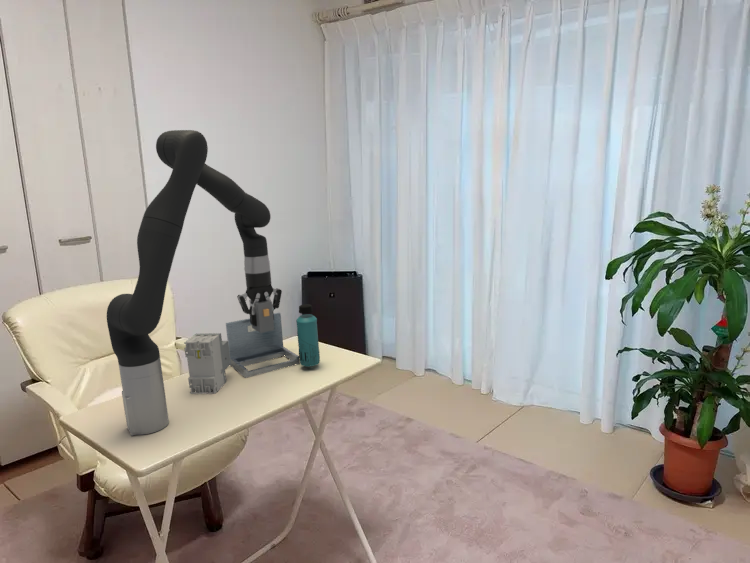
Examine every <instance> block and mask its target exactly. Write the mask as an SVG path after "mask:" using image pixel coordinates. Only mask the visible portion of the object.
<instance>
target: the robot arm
mask: <svg viewBox="0 0 750 563" xmlns="http://www.w3.org/2000/svg"><path fill="white" fill-rule="evenodd" d="M155 150H156V154H157V156H158V158H159V159H160V160H161V162H162V163H163V164H164V165H166V166H167V167H169V168H170V169H171V170H172V171H171V174H170V176H169V178H168V181H167V182H166V183H165V185H164V186H163V188H162V189H161V190H160V191H159V192H158V194H157V195H156V196H155V197H154V198H153V200H152V201H151V202H150V203H149V204H148V206H147V208H146V209H145V211H144V213H143V216H142V219H141V222H140V226H139V229H138V233H137V239H136V245H137V247H136V248H137V255H138V262H139V273H138V276H137V277H138V278H137V281H136V284H135V288H134V291H133V293H121V294H118V295H116V296H115V297H114V298H112V299H111V300H110V302H109V304H108V306H107V309H106V322H107V323H106V324H107V328H108V334H109V339H110V343H111V347H112V348H111V349H112V350H113V353H114V355H115V356H116V358H117V361H118V370H119V376H120V382H121V383H120V384H121V389H122V391H121V397H122V403H123V410H124V416H125V421H126V422H125V423H126V427H127V430H128V431H129V434H130V436H131V437H132V436H136V435H148V434H153V433H156V432H159V431H161V430H163V429H164V428H166V427H167V426H168V425H169V423H170V420H169V419H170V418H169V413H168V406H167V404H168V403H167V399H166V390H165V382H164V377H163V376H164V375H163V370H162V363H161V361H162V360H161V354H160V349H159V346H158V344H157V343H155V342H154V340H152V338H151V337H150V335H149V334H151V333H152V332H153V331H155V329H156V328H157V327H158V325H159V323H160V321H161V316H162V312H163V308H164V302H165V296H166V290H167V285H168V282H169V275H170V272H171V270H172V265H173V262H174V258H175V255H176V254H175V253H176V250H177V247H178V245H179V241H180V239H181V235H182V231H183V228H184V227H183V226H184V224H185V219H186V217H187V213H188V210H189V207H190V204H191V201H192V200H191V199H192V197H193V194H194V192H195V188H196V186H198V187H200V188H201V189H203V190H204V191H205V192H206V193H208V194H209V195H210V196H212V197H213V198H214V199H215V200H216V201H218V202H219V204H221V206H223V207H224V208H225V209H226V210H228V211H229V212H231V213H234V222H235V225H236V229H237V231H238V233H239V236H240V239H241V241H242V245H243V255H244V256H243V257H244V258H243V259H244V261H243V263H244V267H243V270H244V274H245V275H244V276H245V284H246V289H245V292H244V293H242V294H238V295H237V300H238V303H239V305H240V307H241V309H242V312H243V313H244V314H246V315H249V318H250V323H251V324H252V325H253V326H257V321H256V315H255V313H256V309H255V308H256V303H258V302H261V301H269V300H270V301H272V309H273V320H274V310H276V309H279V307H280V303H281V298H282V292H283V291H282V289H280V288H275V287H274V288H273V285H272V275H271V273H272V272H271V263H270V258H269V251H268V241H267V238H266V236H265V235H261V234H259V233H258V232H257V231H256V229H255V228H258V229H259V228H265V227H266V226H268V224H270V221H271V219H272V217H271V211H270V209H269V207H267V205H266V204H265V203H263V202H262V201H261V200H259V198H256V197H254V196H252V195H251V194H248V193H247V192H246V191H245V190H244V189H243V188H242V187H240V185H238V184H237V182H235V181H234V179H231V177H229V176H228V175H225V174H224V173H222V172H220V171H219V170H217V169H215V168H213V167H211V166H210V165H208V164H206V161H207V158H208V152H209V151H208V150H209V147H208V142H207V140H206V137H205V135H204V134H202V132H200V131H198V130H193V129H192V130H191V129H181V130H177V129H175V130H167V131H164V132H162V133H161V134H159V136H158V137H157V139H156V142H155ZM272 295H273V299H271V296H272ZM248 298H249V300H250V302H249V307H248V304H247V302H246V301H247V299H248ZM252 302H254V304H253V303H252Z"/></svg>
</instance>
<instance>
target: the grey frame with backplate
mask: <svg viewBox="0 0 750 563" xmlns="http://www.w3.org/2000/svg"><path fill="white" fill-rule="evenodd" d="M273 313H274V312H273ZM281 314H282V313H281V312H275V313H274V330H272V331H267V332H263V333H260V332H258V331H257V330H255V329H253V328H252V324H251V323H250V317H248V318H245V319H239V320H234V321H230V322H225V329H226V338H227V340H226V341H228V346H229V355H230V365H229V367H230V366H231V367H232V368H233V369H234V370H235V371H236V372H238V374H240V375H241V376H242V377H243V378H245V379H246V378H250V377H254V376H258V375H262V374H266V373H270V372H273V370H274V371H278V370H281V369H284V367H285V368H287V367H288V366H289V367H293V366H296V365H295V364H297V365H301V364H300V361H299V360H300V358H299V354H296V353H294V352H293V351H291V350H290V349H288V348H287V347H285V346H284V341H283V340H284V337H283V327H282V315H281ZM284 355H285V356H286V357H287V358H286V357H285V356H284ZM280 356H284V357H285V358H286V359H288V358H289V359H290V360H289V359H288V360H287V361H283V362H279V363H274V364H270V365H266V366H262V367H258V368H254V369H250V370H248V368H247V367H246V366H251V364H252V365H255V363H256V364H259V362H260V363H263V361H264V362H267V361H266V360H268V361H271V360H270V359H272V360H274V359H273V358H276V359H278V358H277V357H280ZM280 358H281V357H280ZM292 365H293V366H292ZM280 368H281V369H280ZM277 369H278V370H277Z"/></svg>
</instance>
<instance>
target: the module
mask: <svg viewBox="0 0 750 563" xmlns="http://www.w3.org/2000/svg"><path fill="white" fill-rule="evenodd" d="M270 300H271V299H270ZM270 300H269V301H261V302H258V303H256V308H255V309H256V313H255V315H256V321H257V326H253V325H252V328H253V329H255V330H257V331H258V332H260V333H263V332H267V331H272V330H274V320H273V313H274V311H273V309H272V304H273V300H271V301H270ZM249 303H250V299H249ZM252 303H253V304H254V302H252Z"/></svg>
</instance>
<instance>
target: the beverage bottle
mask: <svg viewBox="0 0 750 563" xmlns="http://www.w3.org/2000/svg"><path fill="white" fill-rule="evenodd" d="M298 313H299V314H301V315H300V316H298V317H297V318H296V334H297V336H296V337H297V341H298V342H297V344H298V345H297V346H298V356H299V359H300V360H299V361H300V364H299V365H301V366H302V367H314V366H315V367H316V366H318V365H319V364H320V362H321V356H320V355H321V354H320V353H321V352H320V349H321V348H320V342H319V335H318V323H317V322H318V318H317V317H316V316H315V315H313V314H312V313H313V306H312V304H309V303H308V304H307V303H306V304H305V303H304V304H301V305H299V306H298ZM310 313H311V314H310Z"/></svg>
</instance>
